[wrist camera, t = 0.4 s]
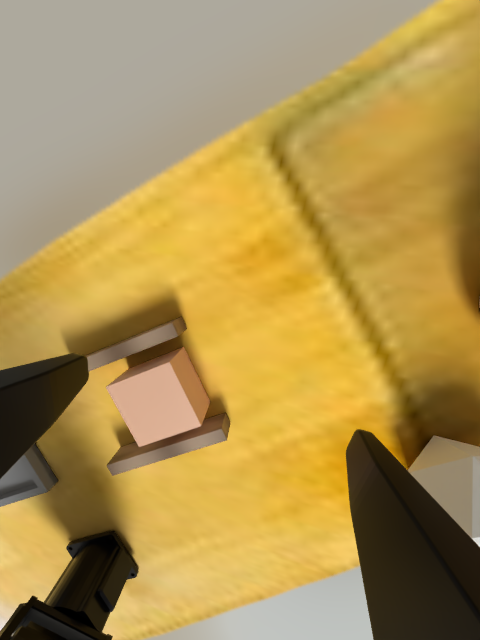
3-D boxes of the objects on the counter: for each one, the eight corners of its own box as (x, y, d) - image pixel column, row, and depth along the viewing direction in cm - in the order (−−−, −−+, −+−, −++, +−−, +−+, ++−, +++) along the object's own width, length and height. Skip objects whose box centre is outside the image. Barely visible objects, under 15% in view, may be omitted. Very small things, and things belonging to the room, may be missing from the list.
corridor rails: (125, 456, 27) (112, 475, 25) (72, 360, 25) (52, 371, 23) (230, 423, 25) (226, 440, 23) (181, 316, 23) (171, 322, 21)
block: (157, 419, 26) (139, 447, 22) (130, 367, 25) (105, 387, 21) (210, 400, 25) (201, 425, 21) (184, 346, 24) (169, 362, 20)
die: (367, 449, 25) (424, 591, 19) (445, 414, 19) (565, 602, 13) (425, 449, 28) (493, 573, 21) (510, 418, 22) (636, 576, 16)
